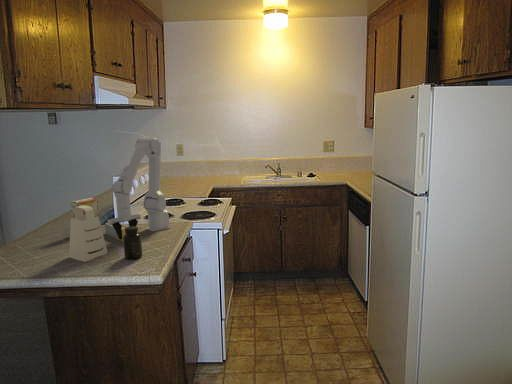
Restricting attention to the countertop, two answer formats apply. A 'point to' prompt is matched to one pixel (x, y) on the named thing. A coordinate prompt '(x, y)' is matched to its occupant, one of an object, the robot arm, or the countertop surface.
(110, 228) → the block
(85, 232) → the grater
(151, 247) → the countertop surface
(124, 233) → the stub
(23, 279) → the countertop surface
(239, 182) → the countertop surface
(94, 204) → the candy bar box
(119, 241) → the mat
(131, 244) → the supplement bottle
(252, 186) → the countertop surface
